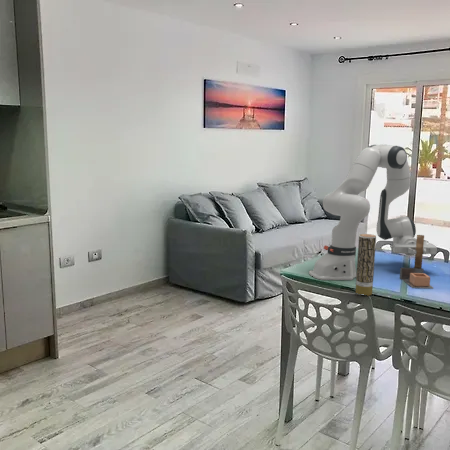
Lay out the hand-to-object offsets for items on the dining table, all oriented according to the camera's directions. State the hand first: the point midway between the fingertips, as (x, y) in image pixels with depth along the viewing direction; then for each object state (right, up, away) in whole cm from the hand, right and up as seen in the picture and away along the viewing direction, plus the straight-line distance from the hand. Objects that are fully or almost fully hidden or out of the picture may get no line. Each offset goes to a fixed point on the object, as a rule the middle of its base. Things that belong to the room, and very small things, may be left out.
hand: (419, 252), depth 238 cm
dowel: (0, -12, +3) cm, 12 cm away
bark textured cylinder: (-34, -16, -27) cm, 46 cm away
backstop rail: (-5, -14, -9) cm, 17 cm away
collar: (-5, -14, -12) cm, 19 cm away
